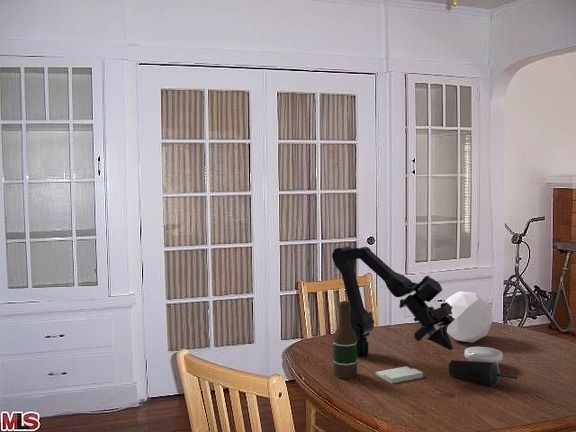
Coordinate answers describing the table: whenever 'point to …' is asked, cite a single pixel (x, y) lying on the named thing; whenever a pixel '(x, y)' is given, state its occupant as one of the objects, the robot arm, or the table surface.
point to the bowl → (483, 354)
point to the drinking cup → (477, 371)
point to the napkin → (400, 374)
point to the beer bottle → (344, 345)
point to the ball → (469, 317)
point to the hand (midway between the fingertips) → (451, 349)
